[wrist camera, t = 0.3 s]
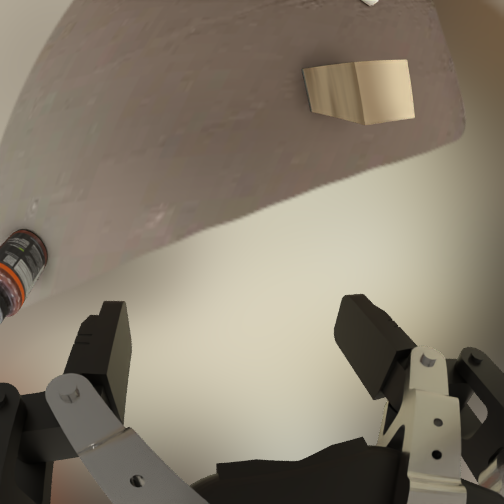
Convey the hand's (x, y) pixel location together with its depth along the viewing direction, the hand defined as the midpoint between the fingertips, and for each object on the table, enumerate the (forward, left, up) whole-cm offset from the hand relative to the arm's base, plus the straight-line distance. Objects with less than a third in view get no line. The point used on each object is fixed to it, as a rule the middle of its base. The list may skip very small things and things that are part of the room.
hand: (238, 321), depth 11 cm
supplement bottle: (+20, -12, -22) cm, 32 cm away
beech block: (-14, +4, -22) cm, 26 cm away
